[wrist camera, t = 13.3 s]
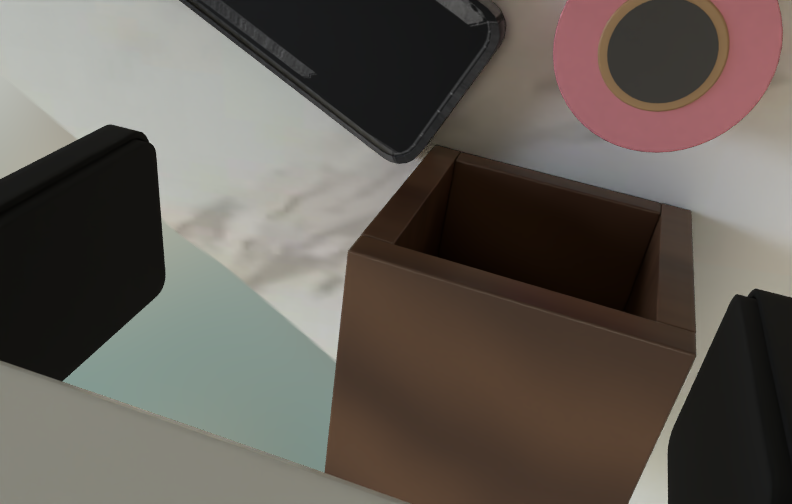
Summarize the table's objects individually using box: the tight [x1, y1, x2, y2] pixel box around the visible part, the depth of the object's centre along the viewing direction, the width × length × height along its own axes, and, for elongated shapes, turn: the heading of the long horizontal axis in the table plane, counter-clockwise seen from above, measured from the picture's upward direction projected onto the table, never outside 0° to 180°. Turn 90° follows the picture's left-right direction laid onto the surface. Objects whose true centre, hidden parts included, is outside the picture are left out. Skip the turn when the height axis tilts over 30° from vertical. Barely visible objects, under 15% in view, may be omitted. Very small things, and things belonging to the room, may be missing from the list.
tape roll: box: [553, 0, 783, 152], centre depth 23 cm, size 7×7×5 cm
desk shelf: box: [325, 145, 696, 504], centre depth 29 cm, size 12×11×10 cm
